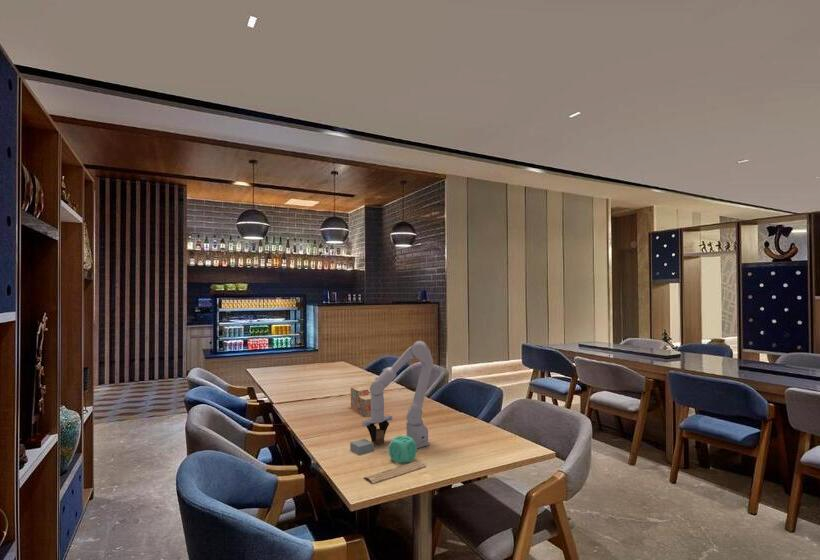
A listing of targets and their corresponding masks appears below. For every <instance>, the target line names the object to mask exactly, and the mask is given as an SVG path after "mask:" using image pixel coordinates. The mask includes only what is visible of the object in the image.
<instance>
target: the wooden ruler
mask: <svg viewBox="0 0 820 560" xmlns="http://www.w3.org/2000/svg"><path fill="white" fill-rule="evenodd" d="M425 468H427V465H426V463H424V462H422V461H421V460H420V461H419V460H417V461H413V462H409V463H405V464H403V465H401V466H397V467H394V468H391V469H390V468H389V469H387V470H384V471H380V472H377V473H374V474H370V475H368V476H364V477H363V479H365V480H367V479H368V480H369V481H370V482H371V483H372V485H376V484H379V483H382V482H386V481H388V480H391V479H394V478H397V477H400V476H404V475H406V474H411V473H413V472H415V471H419V470H422V469H425Z"/></svg>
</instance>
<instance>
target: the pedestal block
mask: <svg viewBox="0 0 820 560" xmlns="http://www.w3.org/2000/svg"><path fill="white" fill-rule="evenodd" d="M349 446H350V447H349V448H350V451H351V452H353V453H354V454H356V455H359V456H360V455H363V454H368V453H371V452H374V451H375V450H374V449H375V444H374V443H372V442H371V440H368V439H366V438H362V439H358V440H354V441H350V445H349Z"/></svg>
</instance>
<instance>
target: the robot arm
mask: <svg viewBox="0 0 820 560" xmlns="http://www.w3.org/2000/svg"><path fill="white" fill-rule="evenodd" d="M414 358H416V359H417V360H418V361H419V362H420V364H421V365H422V366H421V371H420V373H419V378H418V382H417V384H416V388H415V392H414V396H413V399H412V404H411V405H410V406H409V408H408V410H407V414H406V436H408V437H411V438H412V439H413V440H414V441H415V443H416V446H417V449H419V448H422V447H423V448H424V447H426V446H429V445H431V444H430V442H429V429H428V427H427V426H425V424H424V420H423V419H422V415H423V405H424V401H425V396H426V393H427V389H428V386H429V381H430V377H431V373H432V371H433V366H434V360H433V356H432V354H431V350H430V348H429V346H428V345H427V344H426V343H425V341H423V340H417V341H415V342H413V345H410V347H408V348H407V349H406V350H404V351H403V353H402V354H401V355H400V356H399V357H398V359H396V361H395V362H394V363H393V364H392V365H391V366H388V367H386V368H383V369H382V371H381V373H380V374H379V375H378V376H376V377H375V378H374V379H375V380H374V381H373V382H371V385H370V387H369V391H370V396H371V416H370V418H368V419H366V420H363V421H361V422H362V424H361V426H362V427H363V428H364V427H365V428H367V431H368V433H369V435H370V442H371V441H373V442H375V440H376V429H381V430H384V437H385V435H386V433H387V430H388V427H389V426H390V422H388V421H393V415H391V414H389V415H385V398H384V397H385V396H384V390H385V388H387V387H388V386H389V385H390V384H391V383H392V382H393V381H394V380H395V379H396V377H397V372H398V371H399V370H400V369H401V368H402V367H403V365H405V364H406V363H407V362H408V361H409V360H413V359H414ZM376 424H378V427H379V428H378V427H377V426H376Z"/></svg>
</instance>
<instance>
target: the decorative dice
mask: <svg viewBox="0 0 820 560" xmlns="http://www.w3.org/2000/svg"><path fill="white" fill-rule="evenodd" d="M417 449H418V448H417V446H416V443H415V441H414V440H413V439H412V438H411V437H408V436H407V435H400V436H399V435H398V436H395V437H393V438H392V439H391V441H390V443H389V445H388V454H389V457H390V458H391V460H392V462H394V463H395V464H396V463H397V464H403V465H404V464H410V463H412V461H414V459H415V458H416V455H417V451H418V450H417Z"/></svg>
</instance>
